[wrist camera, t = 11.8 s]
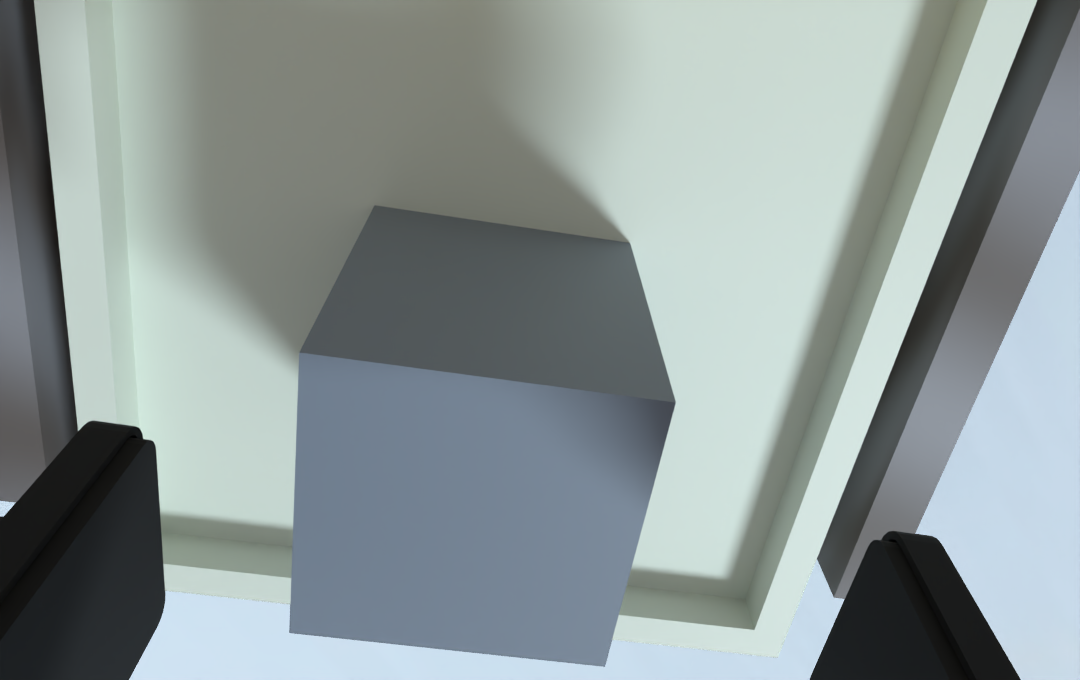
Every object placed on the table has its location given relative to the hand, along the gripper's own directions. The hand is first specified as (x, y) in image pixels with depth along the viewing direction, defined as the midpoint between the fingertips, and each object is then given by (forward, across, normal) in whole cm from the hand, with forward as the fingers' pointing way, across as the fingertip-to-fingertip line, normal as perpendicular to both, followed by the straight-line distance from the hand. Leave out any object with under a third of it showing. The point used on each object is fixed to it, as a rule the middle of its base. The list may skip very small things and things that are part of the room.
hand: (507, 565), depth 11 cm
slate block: (+7, +1, 0) cm, 7 cm away
